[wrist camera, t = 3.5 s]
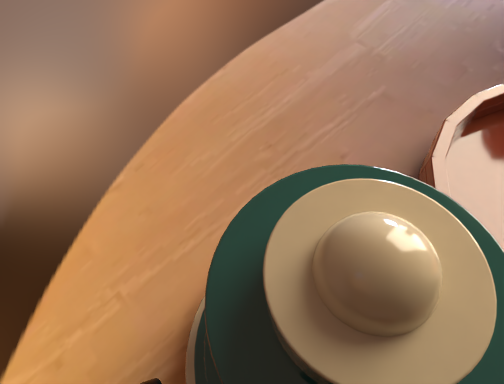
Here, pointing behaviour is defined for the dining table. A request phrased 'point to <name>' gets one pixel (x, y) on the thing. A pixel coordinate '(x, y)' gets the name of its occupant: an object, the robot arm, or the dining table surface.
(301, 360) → the tagine lid
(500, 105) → the tagine base
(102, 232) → the dining table surface
